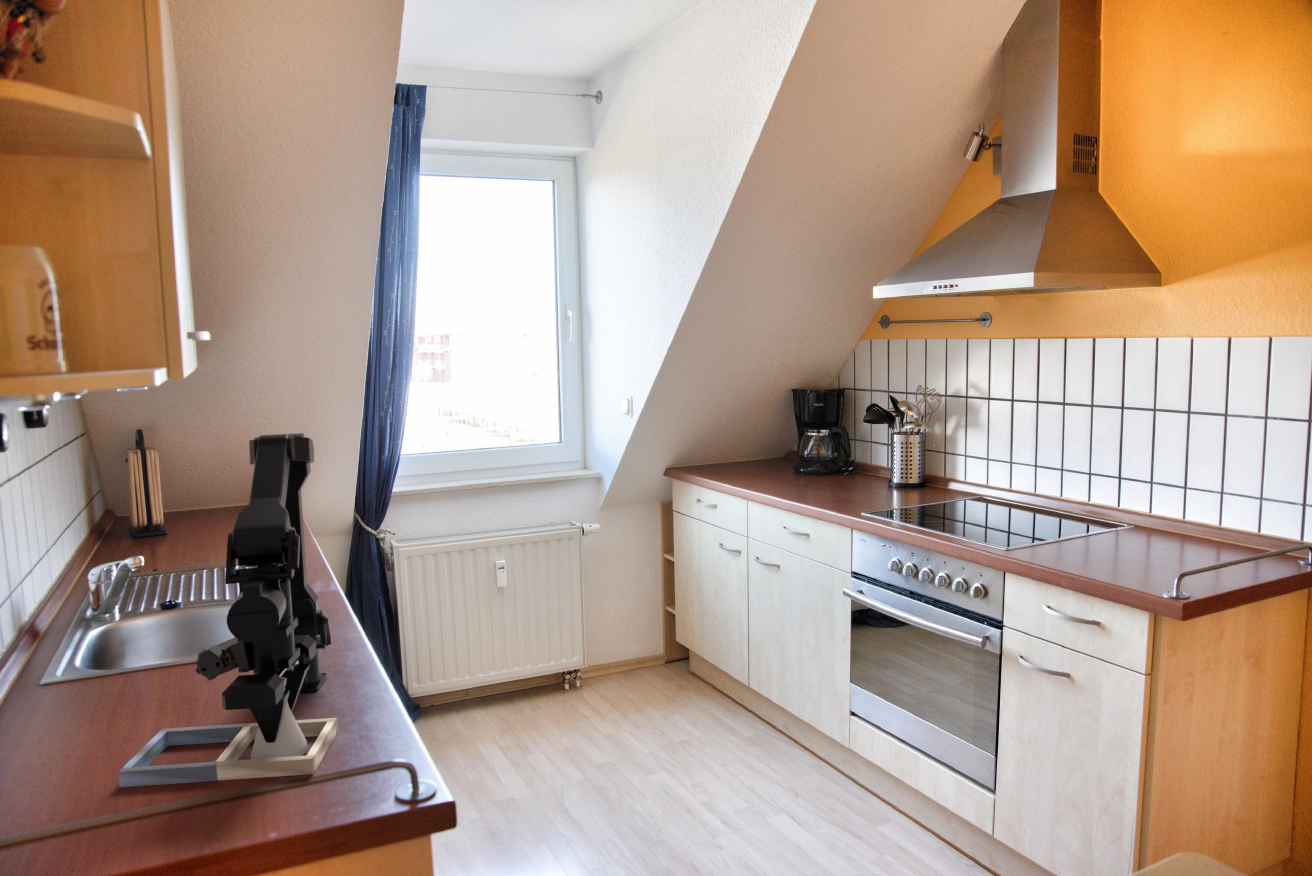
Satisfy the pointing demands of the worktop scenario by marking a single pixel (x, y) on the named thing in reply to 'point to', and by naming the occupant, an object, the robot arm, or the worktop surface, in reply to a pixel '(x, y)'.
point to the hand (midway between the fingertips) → (277, 732)
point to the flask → (281, 739)
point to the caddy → (224, 755)
